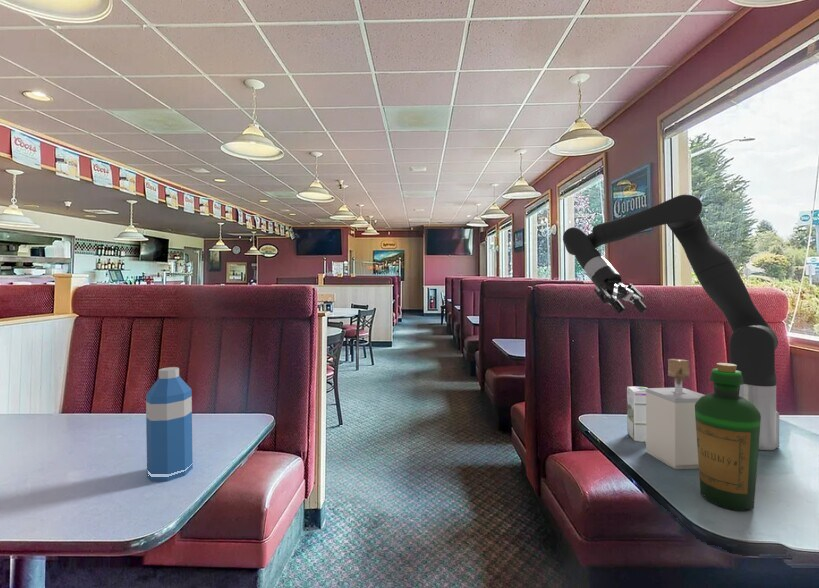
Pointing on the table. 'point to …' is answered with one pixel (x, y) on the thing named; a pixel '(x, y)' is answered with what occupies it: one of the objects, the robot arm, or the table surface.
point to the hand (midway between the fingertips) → (633, 311)
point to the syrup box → (636, 413)
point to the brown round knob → (678, 372)
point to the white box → (672, 427)
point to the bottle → (727, 441)
